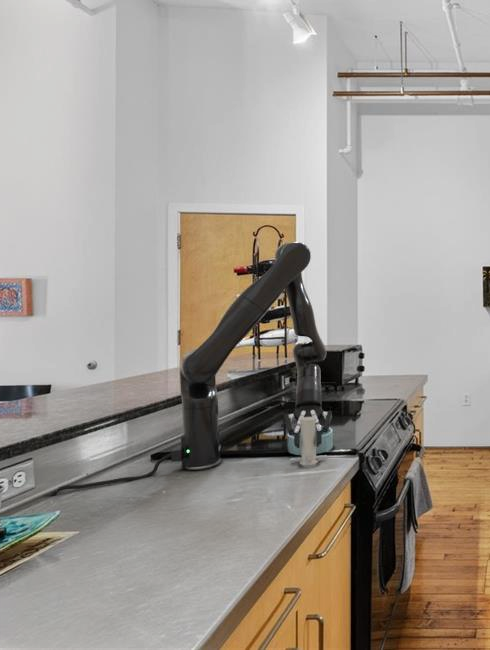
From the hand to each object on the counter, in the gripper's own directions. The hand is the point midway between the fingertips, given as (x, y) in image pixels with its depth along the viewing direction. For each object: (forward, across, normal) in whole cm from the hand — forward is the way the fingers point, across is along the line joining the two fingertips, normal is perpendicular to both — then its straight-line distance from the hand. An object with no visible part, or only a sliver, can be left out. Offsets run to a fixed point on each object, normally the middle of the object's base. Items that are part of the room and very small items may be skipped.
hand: (308, 445), depth 131 cm
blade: (+3, 0, +5) cm, 6 cm away
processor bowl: (-6, 0, +15) cm, 16 cm away
